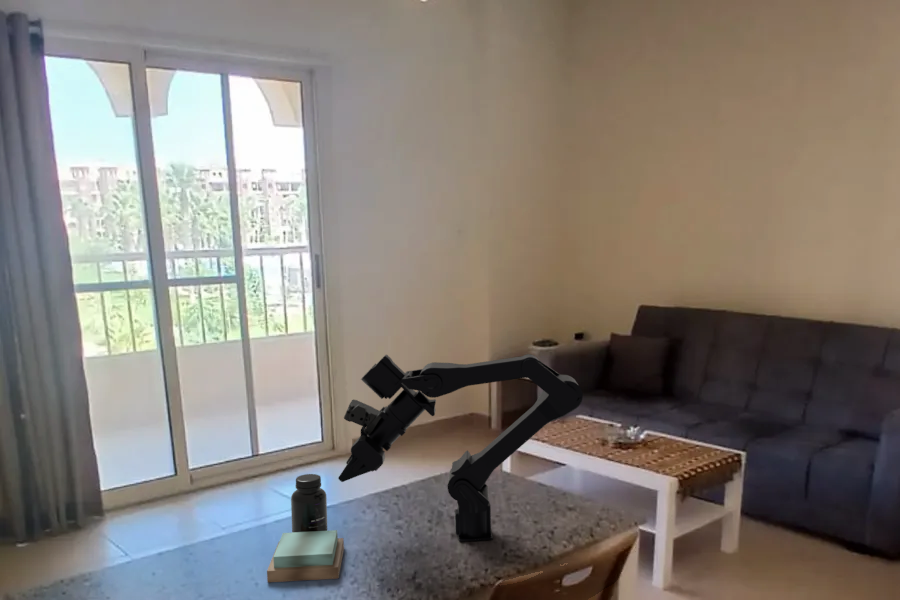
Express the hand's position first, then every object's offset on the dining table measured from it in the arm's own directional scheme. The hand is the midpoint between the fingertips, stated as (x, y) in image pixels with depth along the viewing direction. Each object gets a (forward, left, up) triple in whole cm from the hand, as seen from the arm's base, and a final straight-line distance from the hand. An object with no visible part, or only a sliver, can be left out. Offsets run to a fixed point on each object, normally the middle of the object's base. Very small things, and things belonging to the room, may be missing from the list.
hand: (344, 472), depth 139 cm
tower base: (+6, +11, -13) cm, 18 cm away
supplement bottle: (+7, -1, -13) cm, 15 cm away
